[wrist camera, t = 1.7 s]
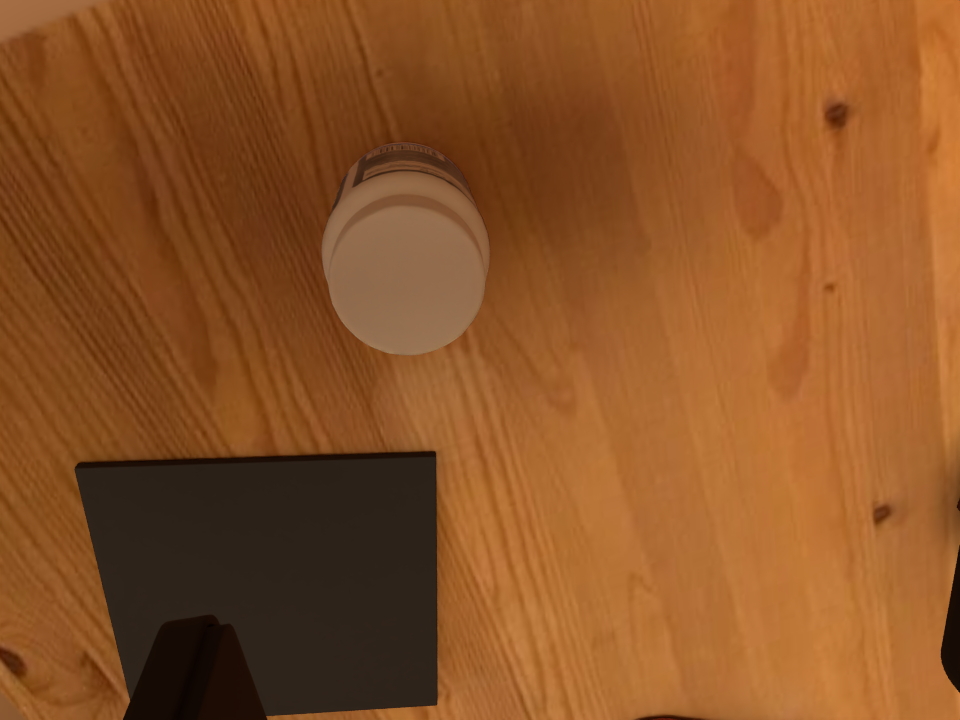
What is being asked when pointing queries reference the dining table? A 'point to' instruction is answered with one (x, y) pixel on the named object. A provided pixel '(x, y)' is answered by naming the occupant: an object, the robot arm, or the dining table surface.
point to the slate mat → (279, 569)
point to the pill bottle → (405, 250)
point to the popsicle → (664, 719)
